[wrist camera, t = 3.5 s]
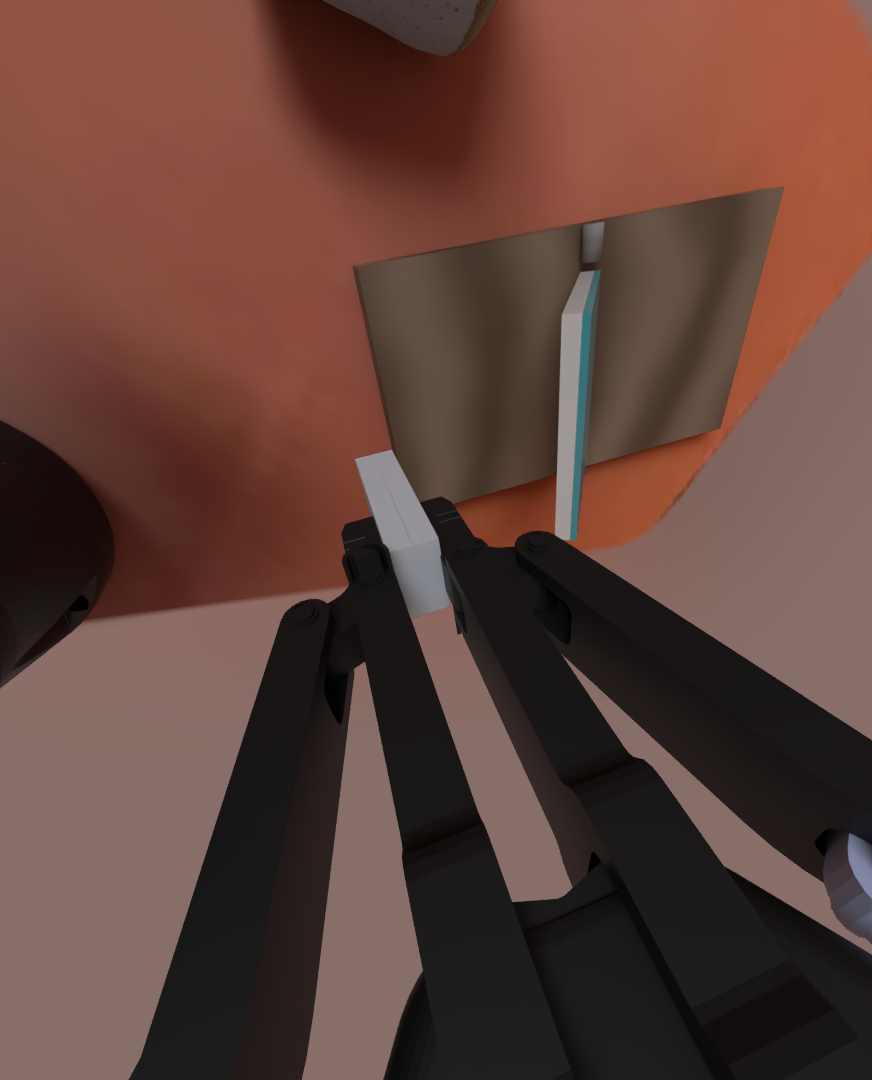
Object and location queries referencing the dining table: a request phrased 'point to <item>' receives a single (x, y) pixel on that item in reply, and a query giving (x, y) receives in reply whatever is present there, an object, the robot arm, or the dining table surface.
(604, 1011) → the robot arm
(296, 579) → the dining table surface
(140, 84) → the dining table surface
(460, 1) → the ceramic mug
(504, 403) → the hinge board
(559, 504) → the tile
